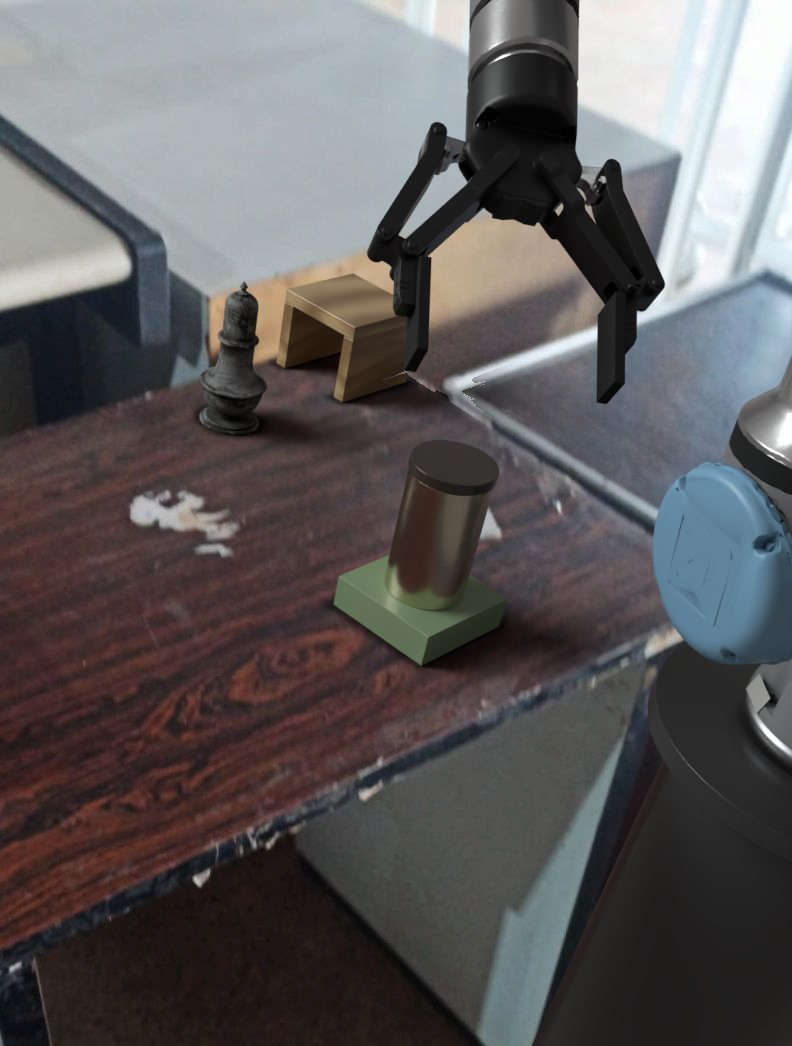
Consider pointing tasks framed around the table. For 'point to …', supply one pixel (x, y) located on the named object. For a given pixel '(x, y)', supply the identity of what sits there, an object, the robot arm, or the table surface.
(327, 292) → the wooden arch stand
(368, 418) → the table surface
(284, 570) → the table surface
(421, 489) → the tin
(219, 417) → the salt shaker
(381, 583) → the green flat square block
